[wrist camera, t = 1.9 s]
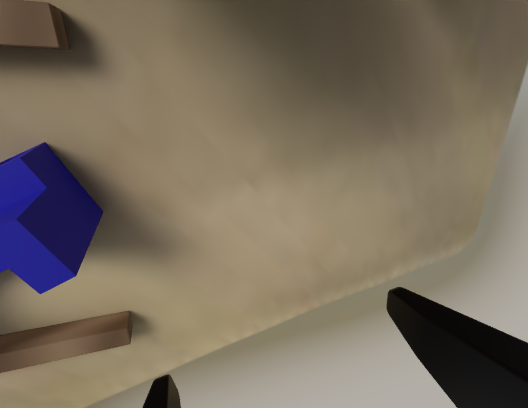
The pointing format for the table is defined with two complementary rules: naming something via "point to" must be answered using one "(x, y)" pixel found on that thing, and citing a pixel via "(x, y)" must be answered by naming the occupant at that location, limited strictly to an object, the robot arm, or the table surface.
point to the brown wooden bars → (78, 332)
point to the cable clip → (43, 219)
